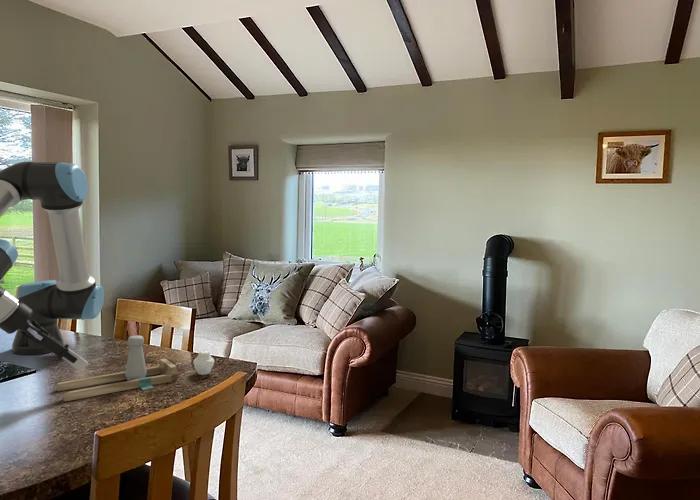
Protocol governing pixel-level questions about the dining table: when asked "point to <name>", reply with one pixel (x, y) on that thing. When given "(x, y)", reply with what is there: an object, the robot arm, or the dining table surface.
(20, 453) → the dining table surface
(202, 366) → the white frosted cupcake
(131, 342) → the salt shaker
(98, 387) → the guide rails
